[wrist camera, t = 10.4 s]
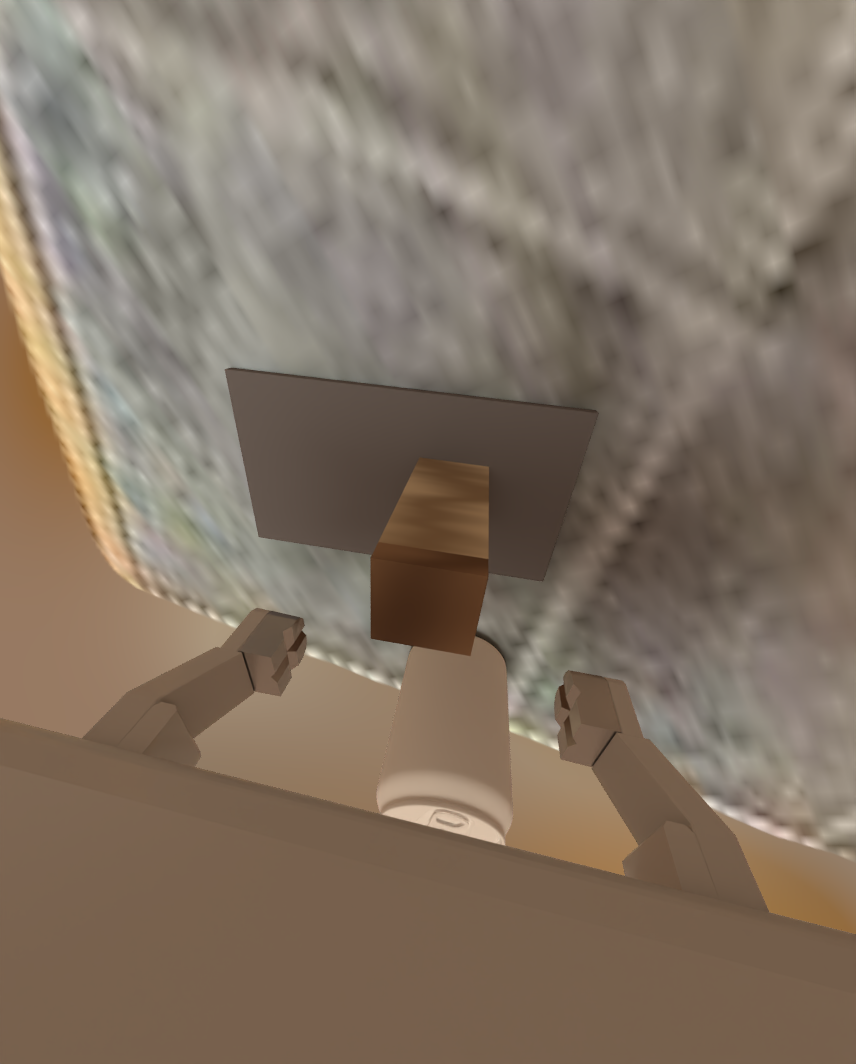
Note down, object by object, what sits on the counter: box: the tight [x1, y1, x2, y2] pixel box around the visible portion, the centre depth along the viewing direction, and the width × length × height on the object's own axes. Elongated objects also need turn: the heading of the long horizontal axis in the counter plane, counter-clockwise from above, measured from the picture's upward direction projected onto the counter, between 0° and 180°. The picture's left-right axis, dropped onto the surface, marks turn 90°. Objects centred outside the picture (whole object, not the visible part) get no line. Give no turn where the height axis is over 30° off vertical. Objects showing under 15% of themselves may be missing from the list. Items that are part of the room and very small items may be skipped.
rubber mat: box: [225, 368, 599, 581], centre depth 22 cm, size 20×11×1 cm, turn 85°
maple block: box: [371, 458, 489, 656], centre depth 17 cm, size 4×4×10 cm
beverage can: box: [377, 636, 513, 845], centre depth 25 cm, size 8×8×12 cm
